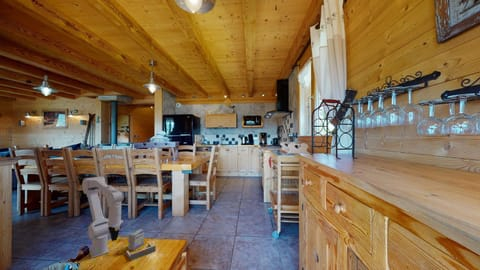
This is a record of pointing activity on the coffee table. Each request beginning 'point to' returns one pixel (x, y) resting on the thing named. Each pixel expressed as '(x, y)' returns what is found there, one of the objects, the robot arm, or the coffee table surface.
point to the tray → (141, 252)
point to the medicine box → (136, 239)
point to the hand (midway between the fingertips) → (114, 240)
